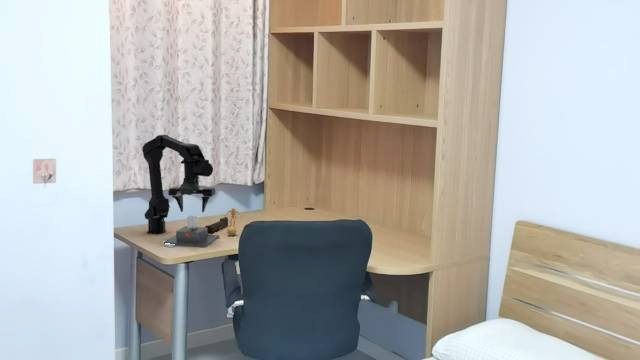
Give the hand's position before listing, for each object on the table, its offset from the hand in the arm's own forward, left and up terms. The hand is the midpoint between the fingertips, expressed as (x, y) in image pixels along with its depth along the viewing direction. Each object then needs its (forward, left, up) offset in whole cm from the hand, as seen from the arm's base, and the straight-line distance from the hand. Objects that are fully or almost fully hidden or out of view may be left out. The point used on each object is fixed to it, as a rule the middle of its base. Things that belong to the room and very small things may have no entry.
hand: (192, 212), depth 296 cm
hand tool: (+3, +24, -13) cm, 27 cm away
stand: (0, 0, -12) cm, 12 cm away
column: (0, 0, -11) cm, 11 cm away
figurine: (+13, +15, -13) cm, 23 cm away
